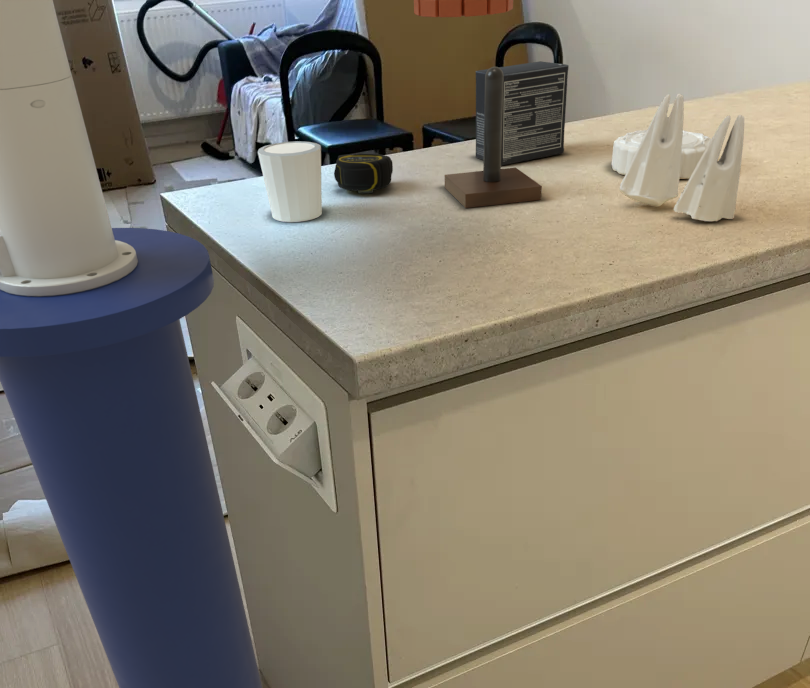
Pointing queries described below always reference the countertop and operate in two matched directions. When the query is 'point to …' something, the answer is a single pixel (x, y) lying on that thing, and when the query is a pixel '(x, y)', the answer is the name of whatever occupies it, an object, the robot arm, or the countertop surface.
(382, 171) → the tape measure
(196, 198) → the countertop surface
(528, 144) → the small box
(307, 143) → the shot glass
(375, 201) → the countertop surface
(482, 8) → the ring
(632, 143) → the mooncake
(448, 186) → the stand
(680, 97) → the shaker set
